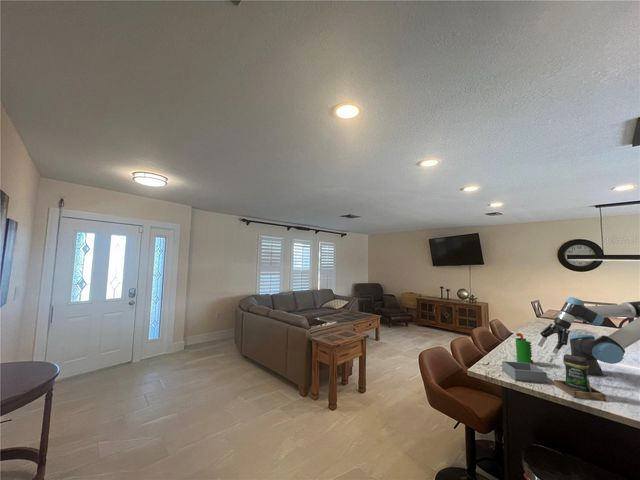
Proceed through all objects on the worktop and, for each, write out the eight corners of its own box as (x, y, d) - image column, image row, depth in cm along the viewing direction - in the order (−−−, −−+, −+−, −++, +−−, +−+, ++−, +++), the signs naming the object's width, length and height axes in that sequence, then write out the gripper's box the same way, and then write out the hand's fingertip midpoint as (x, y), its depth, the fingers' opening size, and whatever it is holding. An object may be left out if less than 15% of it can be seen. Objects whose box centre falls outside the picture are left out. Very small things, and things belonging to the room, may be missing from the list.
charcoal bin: (531, 373, 160) (530, 363, 161) (547, 383, 145) (546, 372, 146) (502, 370, 164) (501, 360, 164) (515, 380, 148) (514, 369, 149)
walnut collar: (582, 387, 140) (581, 382, 140) (606, 401, 125) (605, 394, 126) (554, 385, 143) (554, 379, 143) (574, 397, 128) (574, 391, 129)
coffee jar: (564, 391, 136) (560, 354, 138) (568, 387, 140) (564, 352, 143) (590, 398, 128) (585, 359, 130) (593, 394, 132) (589, 356, 135)
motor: (537, 366, 173) (534, 335, 176) (522, 364, 175) (519, 334, 178) (528, 361, 183) (525, 332, 186) (514, 360, 185) (511, 331, 187)
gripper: (544, 313, 173) (528, 339, 173) (573, 321, 148) (553, 352, 149) (556, 319, 171) (539, 346, 171) (586, 328, 147) (567, 360, 147)
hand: (546, 349), depth 160 cm, fingers open, 13 cm apart
